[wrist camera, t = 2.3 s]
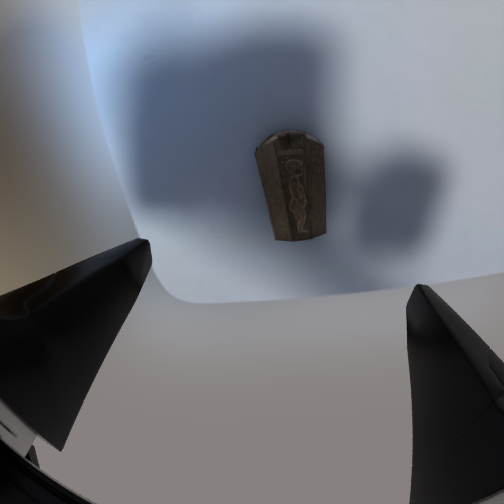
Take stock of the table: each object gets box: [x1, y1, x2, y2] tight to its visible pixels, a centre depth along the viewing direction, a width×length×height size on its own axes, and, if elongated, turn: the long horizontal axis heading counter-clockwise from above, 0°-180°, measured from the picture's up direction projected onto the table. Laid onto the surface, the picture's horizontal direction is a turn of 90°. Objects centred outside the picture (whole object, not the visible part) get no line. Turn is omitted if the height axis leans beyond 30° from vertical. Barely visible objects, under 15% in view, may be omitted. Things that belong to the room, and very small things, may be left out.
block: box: [255, 130, 326, 242], centre depth 16 cm, size 4×6×2 cm, turn 13°
